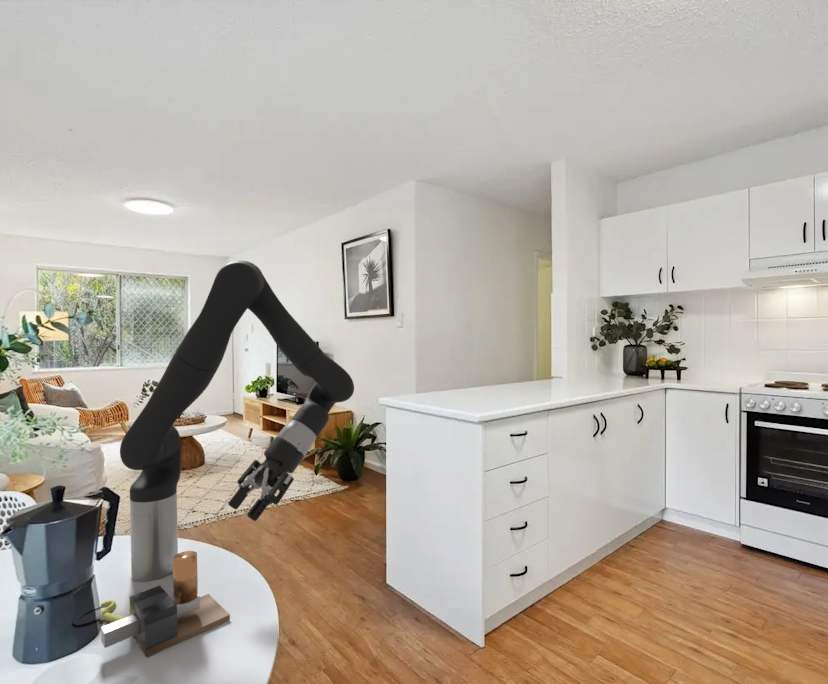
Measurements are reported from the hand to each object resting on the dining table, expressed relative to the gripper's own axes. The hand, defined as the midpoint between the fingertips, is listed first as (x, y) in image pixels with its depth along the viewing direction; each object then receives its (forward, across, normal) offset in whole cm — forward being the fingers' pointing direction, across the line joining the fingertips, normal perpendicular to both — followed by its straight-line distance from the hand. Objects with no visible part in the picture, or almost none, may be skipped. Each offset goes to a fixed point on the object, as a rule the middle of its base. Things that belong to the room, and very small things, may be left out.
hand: (241, 512), depth 93 cm
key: (+28, -13, -2) cm, 30 cm away
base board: (+21, 0, +4) cm, 21 cm away
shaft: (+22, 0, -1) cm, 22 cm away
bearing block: (+24, 0, +1) cm, 24 cm away
